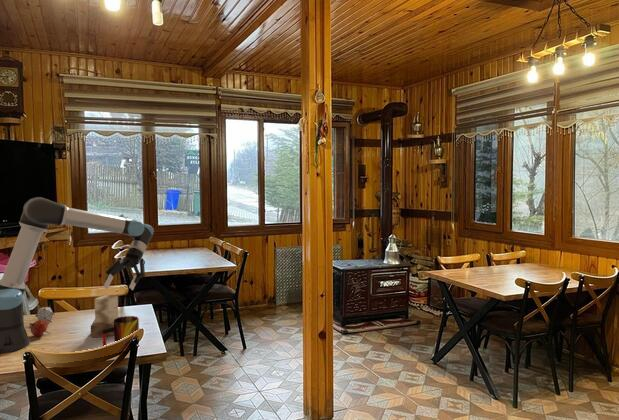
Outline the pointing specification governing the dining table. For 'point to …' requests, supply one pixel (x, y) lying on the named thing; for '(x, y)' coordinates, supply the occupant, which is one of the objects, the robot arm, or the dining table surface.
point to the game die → (45, 314)
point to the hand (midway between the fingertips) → (118, 287)
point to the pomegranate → (39, 327)
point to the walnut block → (98, 327)
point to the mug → (122, 327)
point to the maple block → (106, 309)
